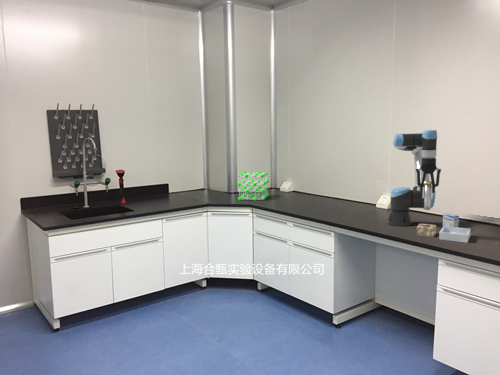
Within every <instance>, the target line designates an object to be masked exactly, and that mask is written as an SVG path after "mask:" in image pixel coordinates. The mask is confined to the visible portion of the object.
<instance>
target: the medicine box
mask: <svg viewBox="0 0 500 375" xmlns="http://www.w3.org/2000/svg"><path fill="white" fill-rule="evenodd" d="M459 218H460V216H459V215H457V214H456V215H455V214H452V213H443V214H442V228H443V227H444V226H448V227H458V228H459V222H460V219H459Z"/></svg>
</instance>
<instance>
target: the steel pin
mask: <svg viewBox="0 0 500 375" xmlns="http://www.w3.org/2000/svg"><path fill="white" fill-rule="evenodd" d="M423 184H425V188H424V208H423V210H424V211H425V210H426V211H431V209H432V208H431V199H430V196H431V186H432V182H431V180H430V181H424V182H423Z"/></svg>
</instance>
